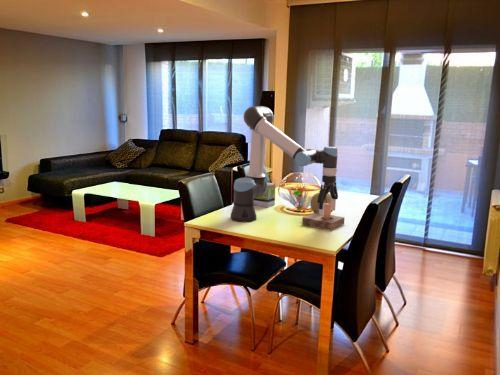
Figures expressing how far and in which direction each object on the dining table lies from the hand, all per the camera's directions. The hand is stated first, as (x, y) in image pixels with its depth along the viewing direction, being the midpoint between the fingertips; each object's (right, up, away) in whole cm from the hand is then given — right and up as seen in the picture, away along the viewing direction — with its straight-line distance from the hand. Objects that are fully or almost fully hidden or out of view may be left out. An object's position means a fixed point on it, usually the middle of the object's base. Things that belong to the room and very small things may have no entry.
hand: (327, 212), depth 242 cm
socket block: (-2, -7, +3) cm, 7 cm away
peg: (0, -7, +1) cm, 7 cm away
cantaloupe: (+1, -3, +22) cm, 22 cm away
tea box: (-35, +2, +46) cm, 58 cm away
